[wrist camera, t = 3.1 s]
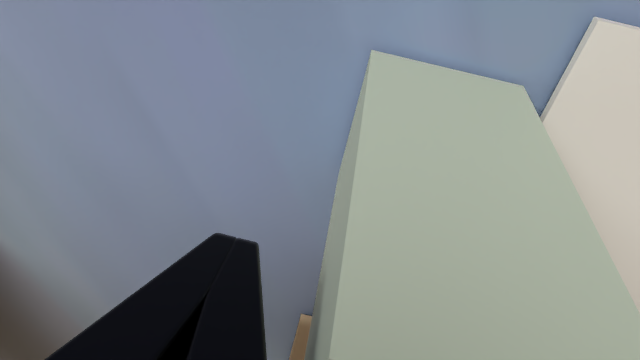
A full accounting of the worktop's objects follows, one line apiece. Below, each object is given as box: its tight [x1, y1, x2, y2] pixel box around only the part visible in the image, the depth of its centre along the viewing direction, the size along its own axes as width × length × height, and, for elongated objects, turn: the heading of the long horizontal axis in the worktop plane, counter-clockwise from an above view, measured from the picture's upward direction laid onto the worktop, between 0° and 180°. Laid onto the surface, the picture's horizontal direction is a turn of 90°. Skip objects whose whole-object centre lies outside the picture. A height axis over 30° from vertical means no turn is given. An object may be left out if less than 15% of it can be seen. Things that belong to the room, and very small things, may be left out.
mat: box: [540, 17, 640, 313], centre depth 16 cm, size 10×19×1 cm, turn 169°
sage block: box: [304, 50, 640, 360], centre depth 10 cm, size 4×4×9 cm
